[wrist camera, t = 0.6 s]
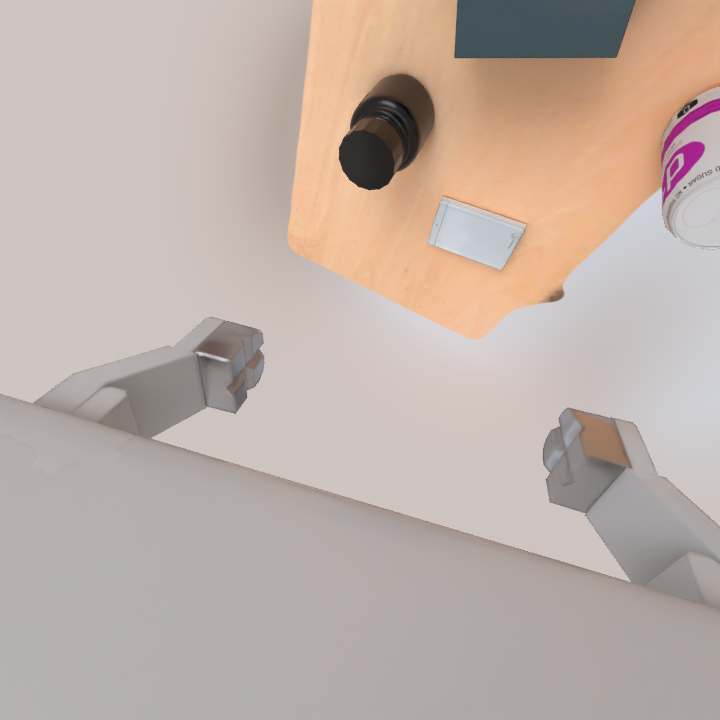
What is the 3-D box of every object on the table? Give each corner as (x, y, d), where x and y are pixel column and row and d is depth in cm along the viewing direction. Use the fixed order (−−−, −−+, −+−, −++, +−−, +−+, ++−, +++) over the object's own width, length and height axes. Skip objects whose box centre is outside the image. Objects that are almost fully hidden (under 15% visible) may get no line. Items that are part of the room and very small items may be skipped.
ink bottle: (354, 91, 50) (313, 137, 44) (413, 52, 44) (374, 98, 38) (392, 161, 56) (359, 210, 49) (448, 134, 50) (419, 186, 44)
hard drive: (525, 230, 54) (440, 201, 56) (501, 271, 61) (426, 245, 63) (527, 222, 55) (443, 194, 56) (503, 265, 62) (429, 238, 63)
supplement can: (644, 158, 44) (642, 242, 36) (697, 72, 37) (708, 153, 29) (726, 174, 42) (742, 265, 34) (798, 87, 35) (838, 177, 27)
